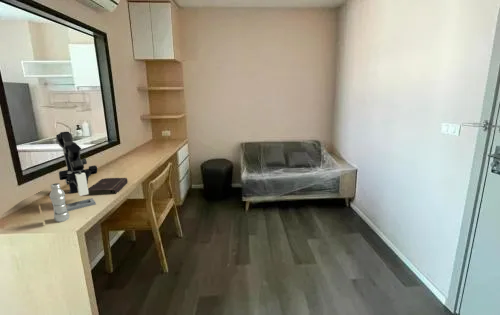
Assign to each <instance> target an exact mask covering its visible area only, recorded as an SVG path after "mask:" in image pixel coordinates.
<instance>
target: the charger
mask: <svg viewBox="0 0 500 315" xmlns="http://www.w3.org/2000/svg"><path fill="white" fill-rule="evenodd" d="M75 177H76V181H77V184H78V186H77V188H78V192H77V193H78V196H80V197H82V196H86V195H89V192H88V188H89V187H88V184H87V180H86V174H85V173H81V171H79V174H75Z"/></svg>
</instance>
